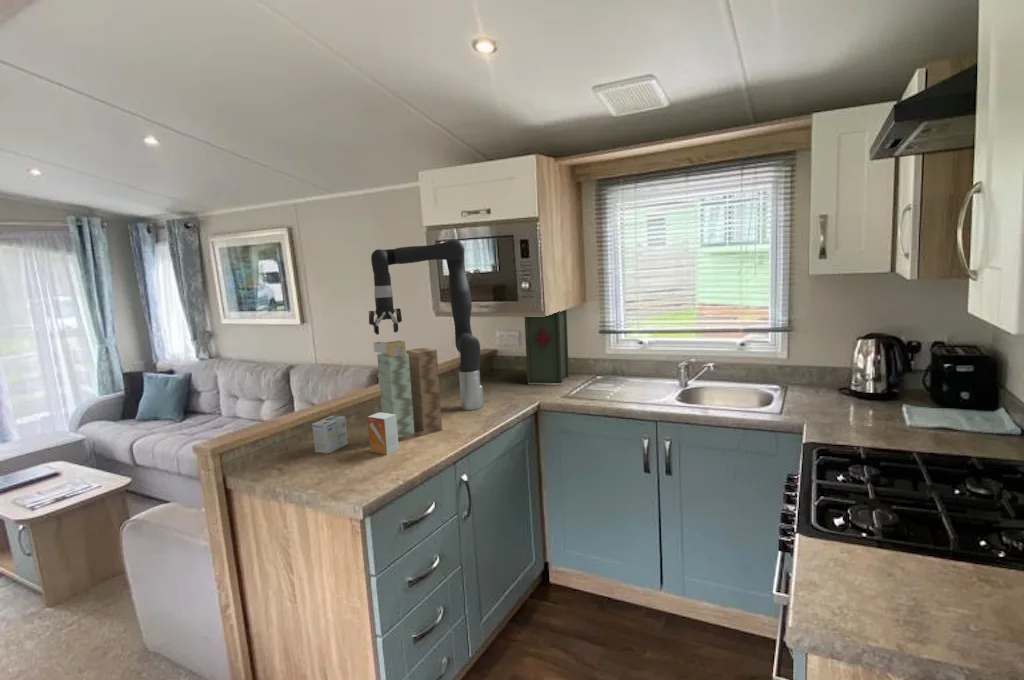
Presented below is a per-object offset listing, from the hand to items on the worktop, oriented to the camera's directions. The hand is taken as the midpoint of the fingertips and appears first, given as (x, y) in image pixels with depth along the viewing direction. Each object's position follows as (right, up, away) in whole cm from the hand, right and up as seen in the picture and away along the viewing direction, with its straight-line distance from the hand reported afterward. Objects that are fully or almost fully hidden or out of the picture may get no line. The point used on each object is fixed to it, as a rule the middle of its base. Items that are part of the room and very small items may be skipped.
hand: (386, 333), depth 235 cm
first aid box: (+75, -26, +55) cm, 96 cm away
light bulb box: (-11, -43, -38) cm, 59 cm away
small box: (+10, -42, -44) cm, 62 cm away
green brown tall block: (+16, -39, -25) cm, 49 cm away
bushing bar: (+8, -8, -30) cm, 32 cm away
